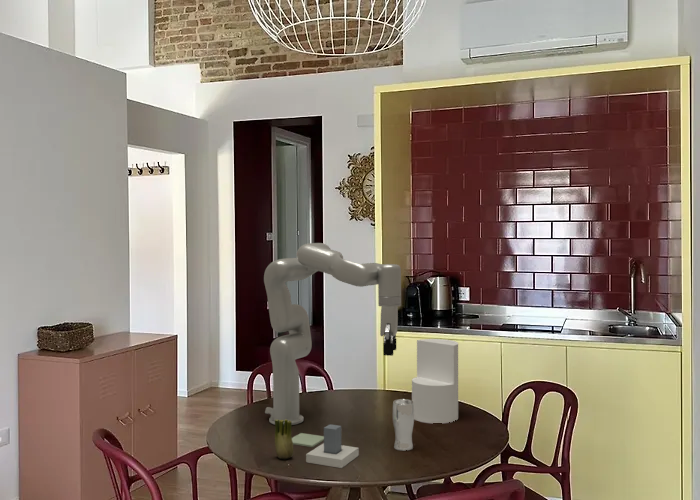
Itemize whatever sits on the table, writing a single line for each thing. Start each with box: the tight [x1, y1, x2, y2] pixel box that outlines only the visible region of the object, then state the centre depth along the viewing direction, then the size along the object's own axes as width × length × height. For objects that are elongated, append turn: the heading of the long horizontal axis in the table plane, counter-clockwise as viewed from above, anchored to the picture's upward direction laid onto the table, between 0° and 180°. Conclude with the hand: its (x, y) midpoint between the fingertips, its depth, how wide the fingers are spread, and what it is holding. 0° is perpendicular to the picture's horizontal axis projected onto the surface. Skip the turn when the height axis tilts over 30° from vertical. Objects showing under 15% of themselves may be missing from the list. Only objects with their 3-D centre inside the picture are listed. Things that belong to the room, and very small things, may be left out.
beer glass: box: [392, 398, 415, 452], centre depth 217 cm, size 7×7×15 cm
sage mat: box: [292, 432, 324, 448], centre depth 224 cm, size 10×10×1 cm
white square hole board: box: [305, 442, 360, 469], centre depth 207 cm, size 12×12×2 cm
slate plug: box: [323, 423, 342, 454], centre depth 206 cm, size 4×4×10 cm
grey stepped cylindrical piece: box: [411, 338, 459, 424], centre depth 252 cm, size 17×17×28 cm
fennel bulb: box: [274, 419, 294, 460], centre depth 208 cm, size 6×5×12 cm
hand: (390, 352), depth 223 cm, fingers open, 9 cm apart
